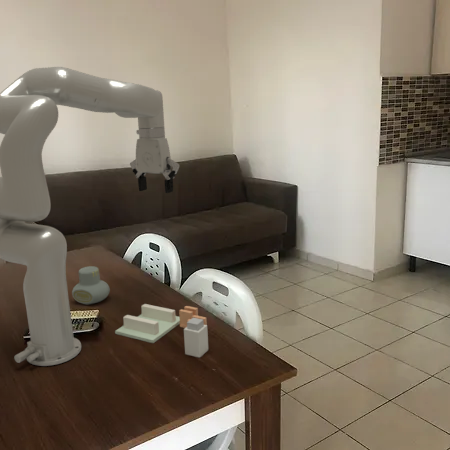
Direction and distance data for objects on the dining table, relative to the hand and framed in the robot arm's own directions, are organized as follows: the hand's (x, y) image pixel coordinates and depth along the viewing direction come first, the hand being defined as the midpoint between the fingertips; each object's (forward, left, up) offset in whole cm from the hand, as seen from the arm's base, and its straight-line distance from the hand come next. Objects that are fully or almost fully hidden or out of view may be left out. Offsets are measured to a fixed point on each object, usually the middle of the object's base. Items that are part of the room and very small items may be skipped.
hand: (155, 191), depth 149 cm
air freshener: (-17, +14, -32) cm, 38 cm away
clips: (-21, -24, -31) cm, 45 cm away
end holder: (-24, -13, -31) cm, 41 cm away
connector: (-30, -31, -31) cm, 53 cm away
